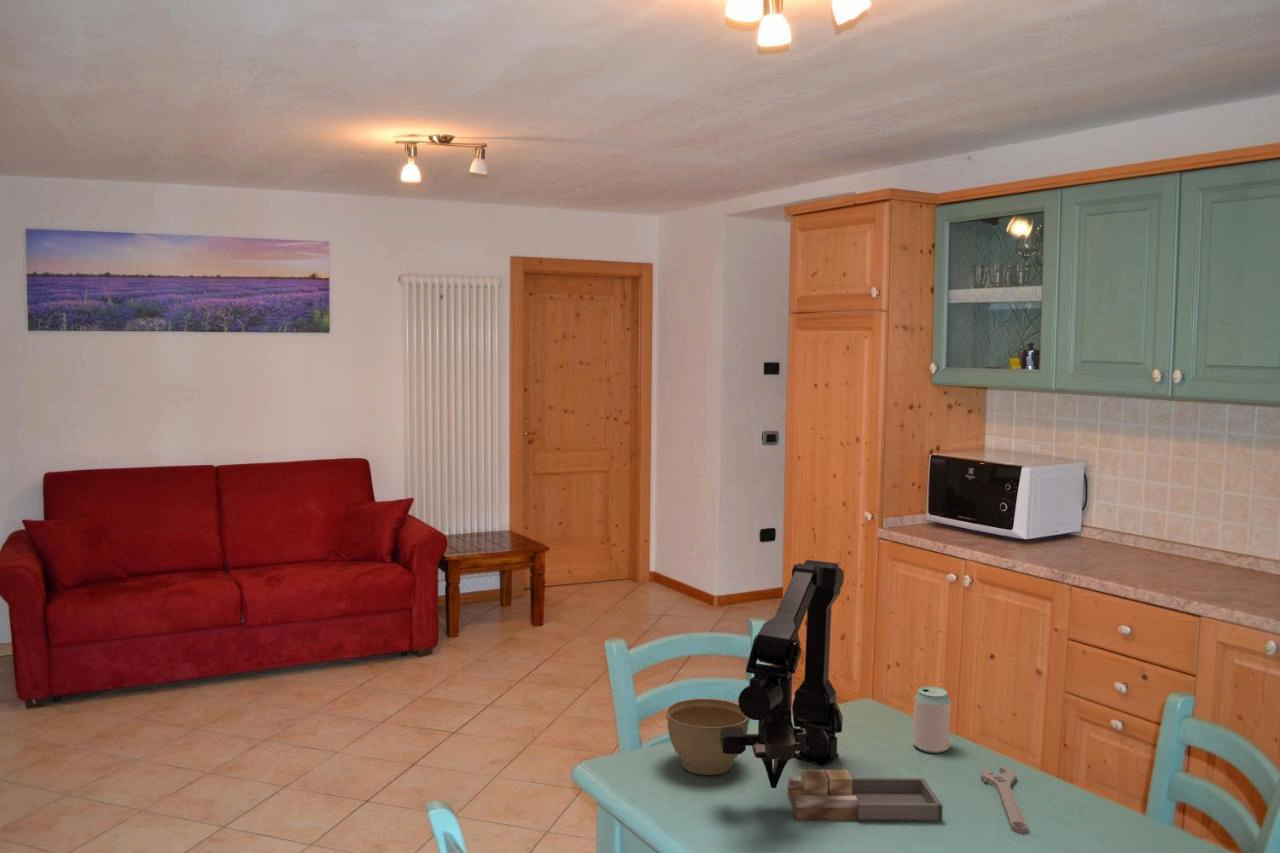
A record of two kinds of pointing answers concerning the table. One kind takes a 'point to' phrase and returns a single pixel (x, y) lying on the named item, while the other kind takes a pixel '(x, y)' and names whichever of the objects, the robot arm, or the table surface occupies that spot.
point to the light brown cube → (839, 783)
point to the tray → (896, 800)
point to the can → (932, 720)
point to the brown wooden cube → (814, 782)
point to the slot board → (820, 804)
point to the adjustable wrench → (1006, 796)
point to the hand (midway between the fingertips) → (773, 787)
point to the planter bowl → (703, 733)
